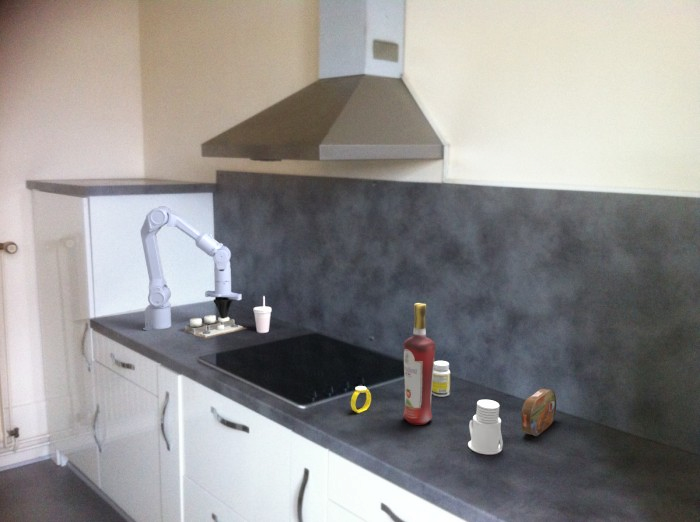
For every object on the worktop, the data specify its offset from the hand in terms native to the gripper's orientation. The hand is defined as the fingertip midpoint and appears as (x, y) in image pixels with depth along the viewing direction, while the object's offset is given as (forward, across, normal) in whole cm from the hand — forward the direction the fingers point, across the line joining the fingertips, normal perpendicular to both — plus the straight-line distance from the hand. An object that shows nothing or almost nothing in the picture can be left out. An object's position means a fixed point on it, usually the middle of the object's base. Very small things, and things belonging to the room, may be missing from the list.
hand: (223, 317), depth 233 cm
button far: (+2, 0, 0) cm, 2 cm away
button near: (0, -3, -12) cm, 12 cm away
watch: (+4, +76, -49) cm, 90 cm away
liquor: (+4, +91, -49) cm, 103 cm away
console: (+4, +1, -6) cm, 8 cm away
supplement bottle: (+5, +90, -29) cm, 95 cm away
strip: (+3, +4, -7) cm, 9 cm away
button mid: (0, -2, -6) cm, 6 cm away
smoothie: (+4, +17, -1) cm, 17 cm away
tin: (+5, +117, -41) cm, 124 cm away
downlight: (+5, +108, -56) cm, 122 cm away
